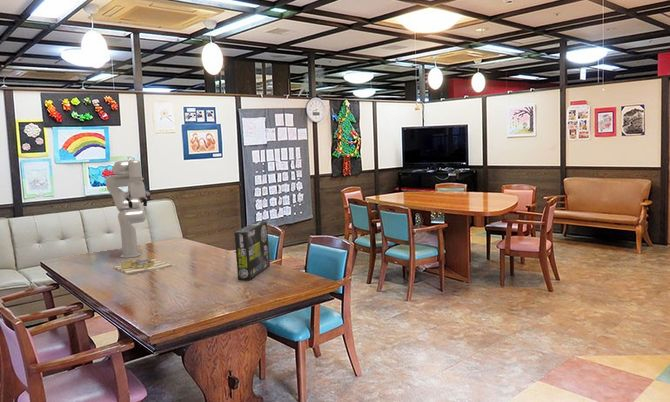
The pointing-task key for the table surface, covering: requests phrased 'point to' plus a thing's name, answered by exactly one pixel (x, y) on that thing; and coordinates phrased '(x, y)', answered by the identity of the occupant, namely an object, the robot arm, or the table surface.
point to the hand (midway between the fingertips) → (138, 206)
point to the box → (252, 250)
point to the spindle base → (131, 271)
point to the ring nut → (135, 264)
